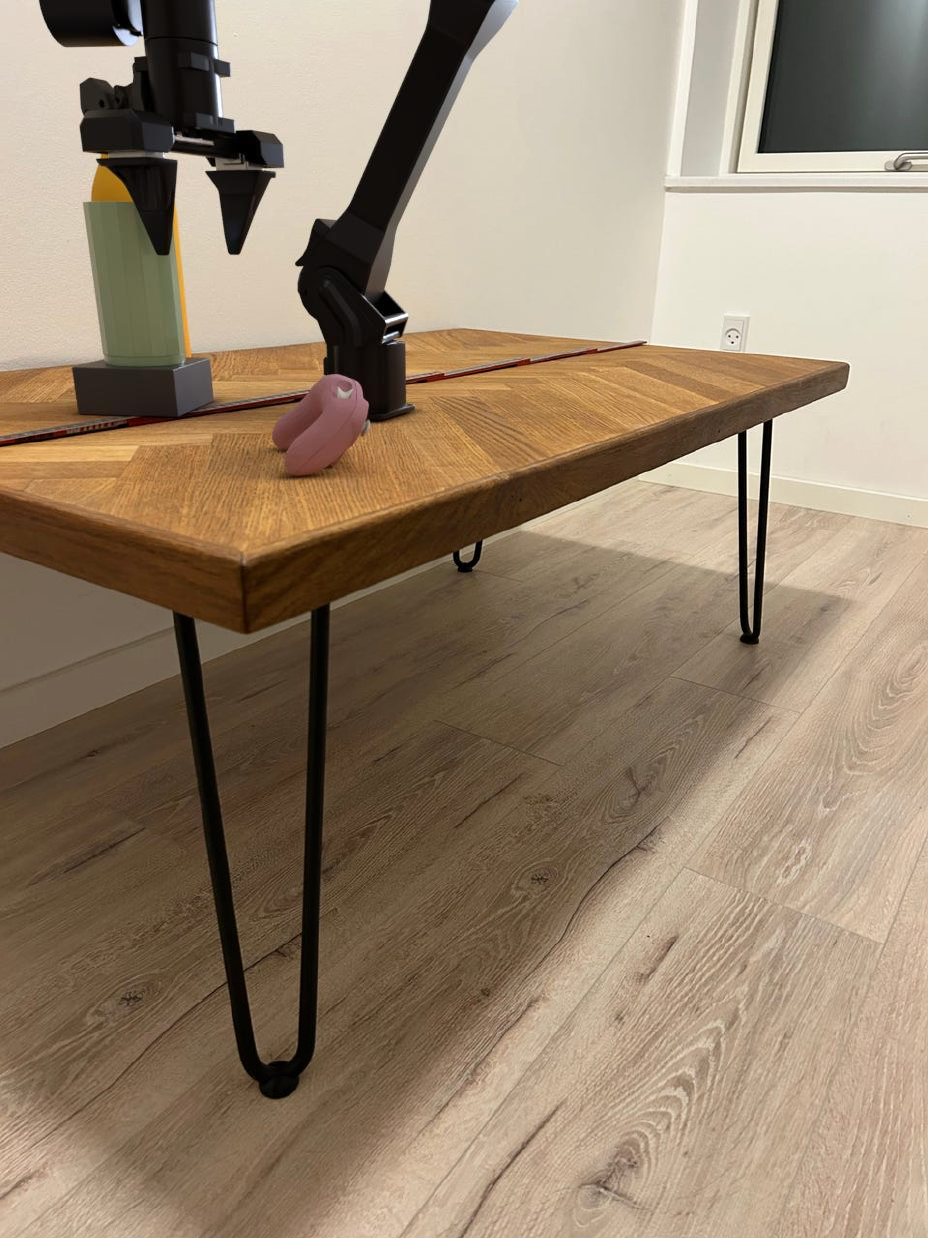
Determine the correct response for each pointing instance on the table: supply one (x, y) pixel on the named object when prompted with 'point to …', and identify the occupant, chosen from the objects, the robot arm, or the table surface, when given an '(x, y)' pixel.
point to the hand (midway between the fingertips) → (200, 254)
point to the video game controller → (322, 425)
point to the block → (143, 388)
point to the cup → (133, 289)
